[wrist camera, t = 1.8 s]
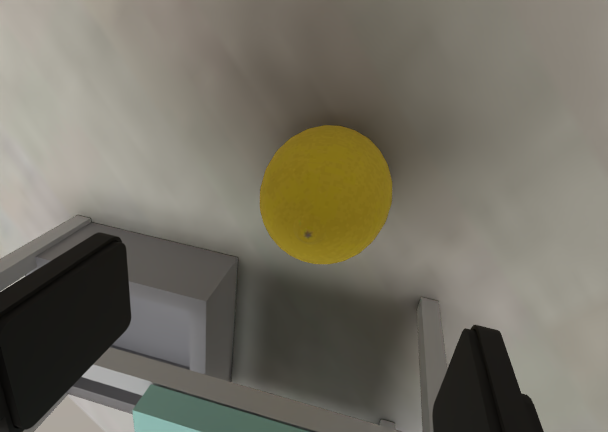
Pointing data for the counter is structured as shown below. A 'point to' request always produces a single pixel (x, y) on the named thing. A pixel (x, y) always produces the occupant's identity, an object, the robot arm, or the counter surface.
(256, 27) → the counter surface
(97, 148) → the counter surface
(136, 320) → the housing
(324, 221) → the lemon
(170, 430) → the lid
